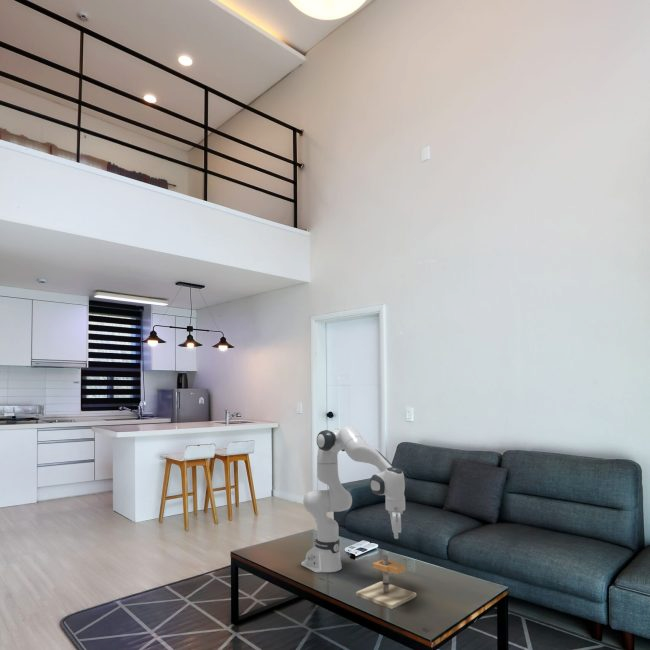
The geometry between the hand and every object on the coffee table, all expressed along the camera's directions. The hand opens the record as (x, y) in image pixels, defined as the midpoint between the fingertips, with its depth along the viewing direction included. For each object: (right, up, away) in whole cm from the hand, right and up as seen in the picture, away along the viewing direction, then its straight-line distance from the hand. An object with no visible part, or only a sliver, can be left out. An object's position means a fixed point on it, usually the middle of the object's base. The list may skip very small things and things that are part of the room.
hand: (396, 537), depth 222 cm
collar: (-3, -14, +1) cm, 15 cm away
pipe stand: (-4, -26, +1) cm, 27 cm away
